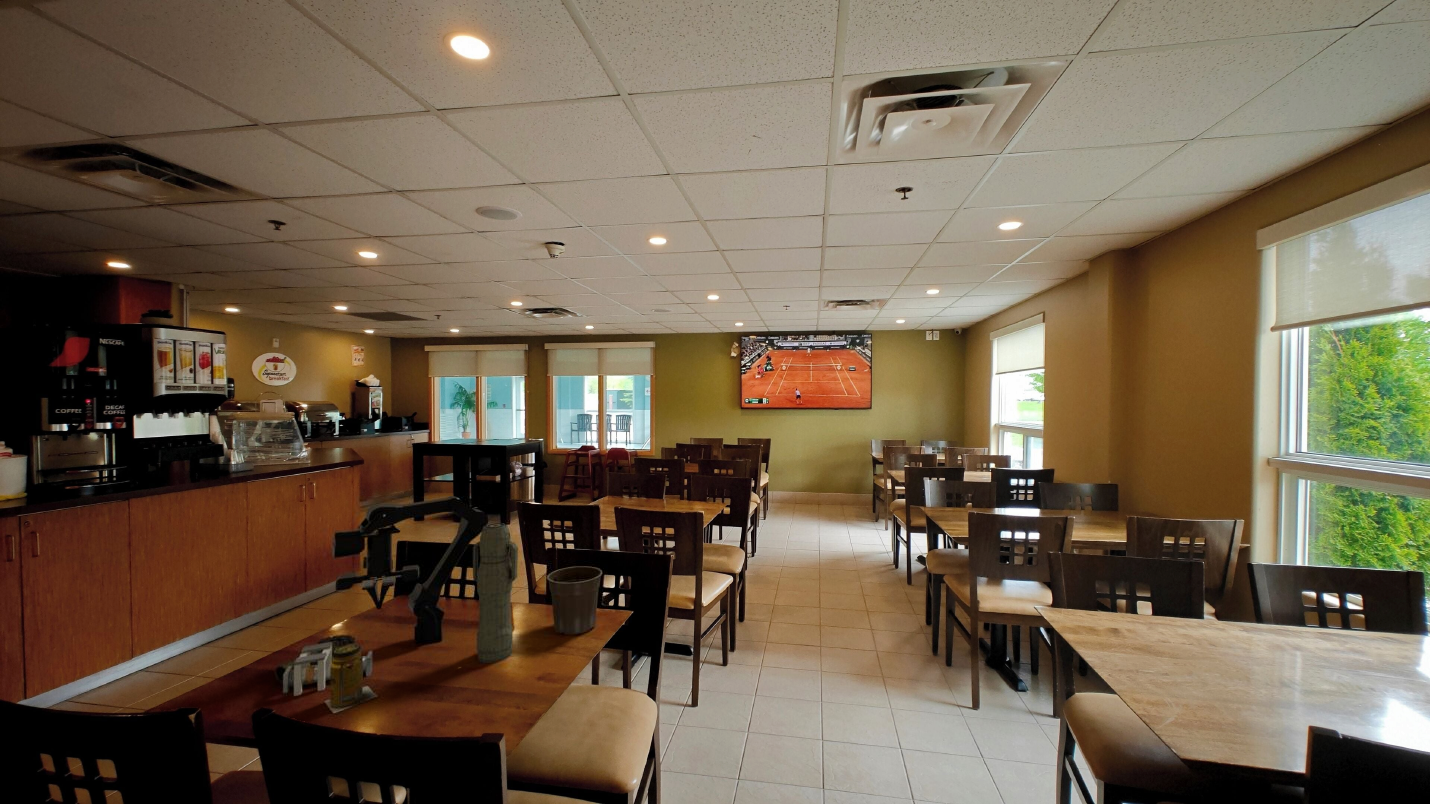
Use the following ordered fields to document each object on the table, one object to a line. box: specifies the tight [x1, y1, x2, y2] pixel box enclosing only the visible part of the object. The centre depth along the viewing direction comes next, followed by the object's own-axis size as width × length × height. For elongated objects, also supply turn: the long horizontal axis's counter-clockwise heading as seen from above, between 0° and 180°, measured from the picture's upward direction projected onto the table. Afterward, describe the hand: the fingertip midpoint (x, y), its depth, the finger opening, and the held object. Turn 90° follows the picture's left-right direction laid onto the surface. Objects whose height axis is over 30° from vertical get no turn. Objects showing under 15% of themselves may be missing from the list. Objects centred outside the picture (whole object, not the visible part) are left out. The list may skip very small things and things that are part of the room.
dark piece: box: [274, 634, 356, 684], centre depth 133 cm, size 18×7×6 cm, turn 162°
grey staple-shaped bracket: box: [293, 642, 333, 697], centre depth 124 cm, size 6×10×8 cm, turn 28°
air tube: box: [282, 650, 373, 694], centre depth 126 cm, size 17×4×4 cm, turn 118°
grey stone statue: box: [472, 522, 519, 664], centre depth 139 cm, size 9×12×35 cm
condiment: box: [324, 643, 378, 714], centre depth 118 cm, size 7×8×12 cm
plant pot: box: [546, 565, 603, 636], centre depth 157 cm, size 16×16×16 cm
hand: (379, 608), depth 140 cm, fingers closed
